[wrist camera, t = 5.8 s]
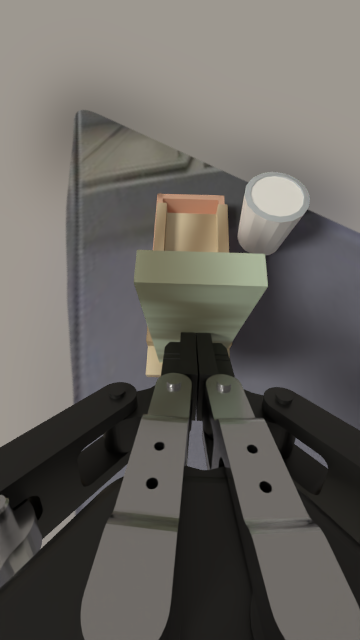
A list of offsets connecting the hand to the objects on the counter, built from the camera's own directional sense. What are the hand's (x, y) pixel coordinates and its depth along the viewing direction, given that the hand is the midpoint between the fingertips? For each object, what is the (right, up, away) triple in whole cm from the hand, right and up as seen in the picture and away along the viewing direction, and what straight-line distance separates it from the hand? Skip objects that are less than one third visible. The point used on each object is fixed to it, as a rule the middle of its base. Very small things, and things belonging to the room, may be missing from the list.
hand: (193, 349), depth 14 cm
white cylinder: (+10, +12, +22) cm, 27 cm away
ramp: (0, +3, +9) cm, 9 cm away
